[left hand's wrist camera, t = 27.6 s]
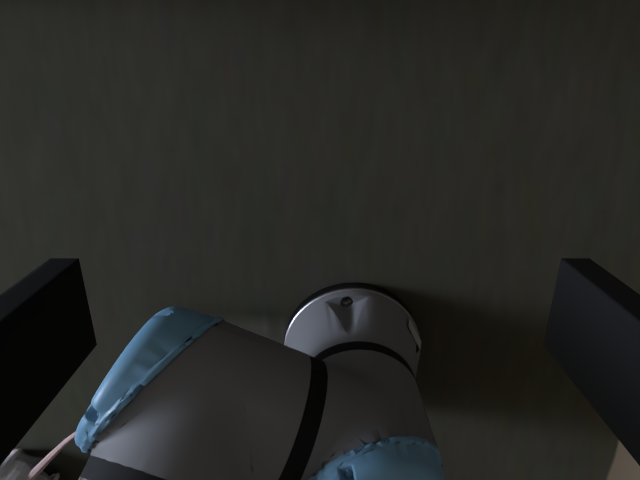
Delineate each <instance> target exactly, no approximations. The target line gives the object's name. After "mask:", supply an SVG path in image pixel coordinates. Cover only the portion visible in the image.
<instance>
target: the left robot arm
mask: <svg viewBox="0 0 640 480" xmlns="http://www.w3.org/2000/svg"><path fill="white" fill-rule="evenodd" d="M96 345H97V344H96V339H95V334H94V329H93V324H92V320H91V315H90V310H89V305H88V301H87V296H86V291H85V286H84V282H83V277H82V272H81V267H80V262H79V259H49V260H48V261H46V262H45V263H44V264H42V265H41V266H39V267H38V268H37V269H35V270H34V271H33V272H31V273H30V274H28V275H27V276H26V277H24V278H23V279H21V280H20V281H19V282H17V283H16V284H15V285H13V286H12V287H10V288H9V289H8V290H6V291H5V292H3V293H2V294H1V295H0V466H1V464H2V463H3V462H4V460H5V459H6V458H7V457H8V455H9V454H10V453H11V452H12V450H13V449H14V448H15V447H16V445H17V444H18V443H19V442H20V440H21V439H22V438H23V437H24V435H25V434H26V433H27V432H28V430H29V429H30V428H31V427H32V425H33V424H34V423H35V422H36V420H37V419H38V418H39V417H40V415H41V414H42V413H43V411H44V410H45V409H46V408H47V406H48V405H49V404H50V403H51V401H52V400H53V399H54V398H55V396H56V395H57V394H58V393H59V391H60V390H61V389H62V388H63V386H64V385H65V384H66V383H67V381H68V380H69V379H70V378H71V376H72V375H73V374H74V373H75V371H76V370H77V369H78V367H79V366H80V365H81V364H82V362H83V361H84V360H85V359H86V357H87V356H88V355H89V354H90V352H91V351H92V350H93V349H94V347H95V346H96ZM543 345H544V346H545V347H546V349H547V350H548V351H549V352H550V354H551V355H552V356H553V357H554V359H555V360H556V361H557V362H558V364H559V365H560V366H561V367H562V369H563V370H564V371H565V373H566V374H567V375H568V376H569V378H570V379H571V380H572V381H573V383H574V384H575V385H576V386H577V388H578V389H579V390H580V391H581V393H582V394H583V395H584V396H585V398H586V399H587V400H588V401H589V403H590V404H591V405H592V406H593V408H594V409H595V410H596V411H597V413H598V414H599V415H600V417H601V418H602V419H603V420H604V422H605V423H606V424H607V425H608V427H609V428H610V429H611V430H612V432H613V433H614V434H615V435H616V437H617V438H618V439H619V440H620V442H621V443H622V444H623V445H624V447H625V448H626V449H627V450H628V452H629V453H630V454H631V455H632V457H633V458H634V459H635V460H636V462H637V463H638V464H639V465H640V295H639V294H638V293H637V292H635V291H634V290H632V289H631V288H630V287H628V286H627V285H625V284H624V283H623V282H621V281H620V280H619V279H617V278H616V277H614V276H613V275H612V274H610V273H609V272H607V271H606V270H605V269H603V268H602V267H601V266H599V265H598V264H596V263H595V262H594V261H592V260H591V259H561V262H560V267H559V272H558V277H557V282H556V286H555V291H554V296H553V301H552V305H551V310H550V315H549V320H548V324H547V329H546V334H545V339H544V344H543ZM420 350H421V340H420V336H419V332H418V329H417V326H416V323H415V321H414V318H413V316H412V314H411V313H410V311H409V309H408V308H407V307H406V306H405V304H404V303H403V302H402V301H401V300H400V299H398V298H397V297H396V296H395V295H393V294H391V293H390V292H388V291H386V290H384V289H382V288H379V287H376V286H373V285H369V284H363V283H343V284H337V285H333V286H330V287H327V288H324V289H322V290H319V291H318V292H316V293H314V294H312V295H311V296H310V297H308V298H307V299H306V300H304V301H303V302H302V303H301V304H300V305H299V306H298V308H297V309H296V310H295V312H294V313H293V315H292V316H291V319H290V321H289V323H288V326H287V330H286V335H285V344H284V345H283V344H280V343H278V342H275V341H273V340H270V339H268V338H265V337H262V336H260V335H257V334H255V333H252V332H250V331H247V330H245V329H242V328H240V327H237V326H235V325H232V324H230V323H228V322H225V321H224V319H223V318H221V317H211V316H208V315H205V314H202V313H199V312H196V311H193V310H190V309H187V308H184V307H170V308H166V309H164V310H162V311H160V312H158V313H157V314H156V315H154V316H153V317H152V318H151V319H150V320H149V321H148V322H147V323H146V324H145V325H144V326H143V327H142V328H141V329H140V331H139V332H138V333H137V334H136V335H135V337H134V338H133V339H132V340H131V342H130V343H129V344H128V346H127V347H126V348H125V350H124V351H123V352H122V354H121V355H120V357H119V358H118V359H117V361H116V362H115V364H114V365H113V367H112V368H111V370H110V371H109V373H108V374H107V376H106V377H105V379H104V380H103V382H102V383H101V385H100V387H99V388H98V390H97V392H96V393H95V395H94V397H93V399H92V402H91V403H92V404H91V405H90V406H89V408H88V409H87V411H86V413H85V414H84V416H83V417H82V419H81V421H80V423H79V425H78V427H77V430H76V433H75V443H76V445H77V446H78V447H80V449H81V451H82V452H84V453H90V451H91V455H90V457H89V459H88V461H87V463H86V465H85V467H84V469H83V471H82V473H81V475H80V477H79V479H78V480H445V478H444V474H443V470H442V466H443V462H442V457H441V454H440V452H439V450H438V447H437V444H436V441H435V438H434V435H433V432H432V429H431V425H430V422H429V419H428V416H427V413H426V410H425V407H424V404H423V401H422V398H421V395H420V392H419V389H418V386H417V383H416V373H417V366H418V362H419V357H420Z"/></svg>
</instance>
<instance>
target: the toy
mask: <svg viewBox="0 0 640 480" xmlns="http://www.w3.org/2000/svg"><path fill="white" fill-rule="evenodd" d="M75 433H76V432H74V433H73V434H71V435H70V436H69V437H67V438H66V439H65V440H64V441H62V442H61V443H60V444H59V445H58V446H57V447H56V448H54V449H53V450H52V451H51V452H50V453H49V454H48V455H47V456H46V457H45V458H44V459H43V460H41V461H40V462H39V463H38V464H37V465H36V466H34V465H32V464H31V463H29V462H28V461H26V460H24V459H22V458H17V456H18V455H19V453H20V452H21V450H22V448H18V449H13V450H12V452H11V453H10V455H9V456H8V457H7V458H6V459H5V460H4V462H3V463H2V464H1V466H0V480H58V479H59V476H60V473H56V474H52V475H51V476H49V475H48V474H47V473H45V472H43V470H44V469H45V467H46V466H47V465H48V464H49V463H50V462H51V461H52V460H53V459H54V457H55V456H56V455H57V454H58V453H59V452H60V451H61V450H62V449H63V448H64V447H65V446H66V445H67V444H68V443H69V442H70V441H71V440H72V439H73V438H74V437H75Z"/></svg>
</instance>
